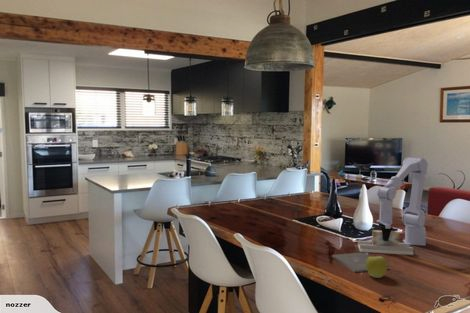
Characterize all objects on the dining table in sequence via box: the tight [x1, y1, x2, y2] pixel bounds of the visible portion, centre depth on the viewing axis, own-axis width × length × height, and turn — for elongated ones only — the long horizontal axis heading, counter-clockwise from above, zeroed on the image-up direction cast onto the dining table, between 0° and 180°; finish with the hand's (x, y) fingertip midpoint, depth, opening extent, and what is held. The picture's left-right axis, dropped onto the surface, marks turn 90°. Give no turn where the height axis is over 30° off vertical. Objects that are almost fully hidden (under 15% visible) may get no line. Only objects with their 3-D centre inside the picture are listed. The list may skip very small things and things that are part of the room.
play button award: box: [331, 252, 390, 273], centre depth 181 cm, size 16×2×20 cm
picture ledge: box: [357, 240, 414, 256], centre depth 199 cm, size 24×10×3 cm, turn 79°
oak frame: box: [371, 229, 401, 246], centre depth 198 cm, size 12×3×8 cm, turn 79°
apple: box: [366, 255, 388, 279], centre depth 165 cm, size 8×8×10 cm
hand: (385, 239), depth 198 cm, fingers open, 4 cm apart
